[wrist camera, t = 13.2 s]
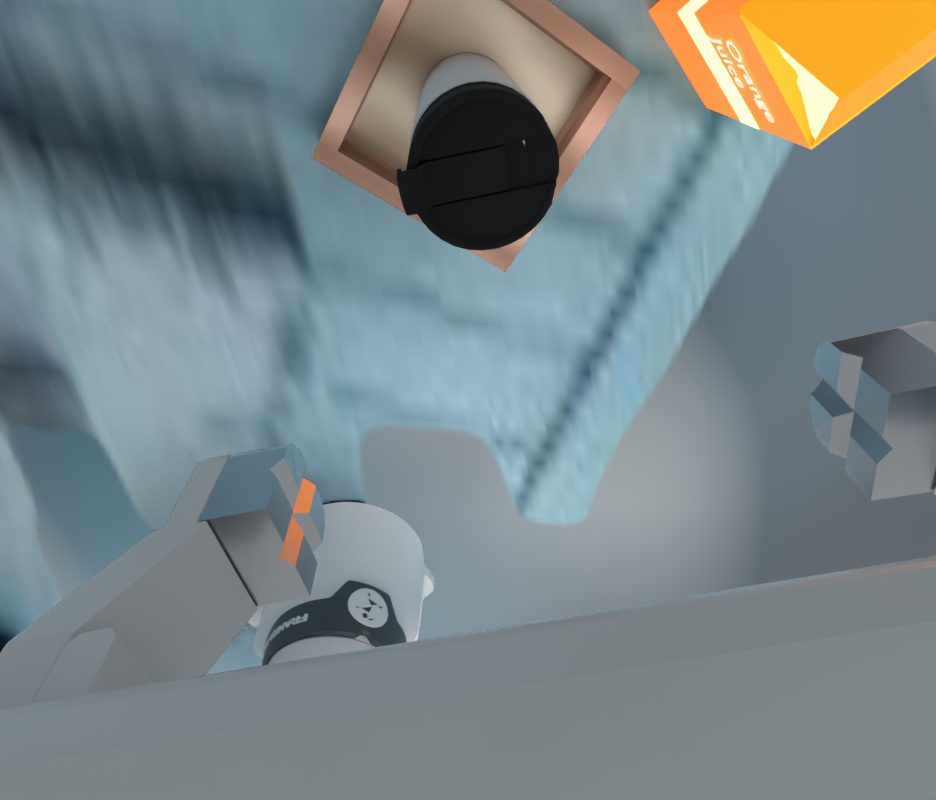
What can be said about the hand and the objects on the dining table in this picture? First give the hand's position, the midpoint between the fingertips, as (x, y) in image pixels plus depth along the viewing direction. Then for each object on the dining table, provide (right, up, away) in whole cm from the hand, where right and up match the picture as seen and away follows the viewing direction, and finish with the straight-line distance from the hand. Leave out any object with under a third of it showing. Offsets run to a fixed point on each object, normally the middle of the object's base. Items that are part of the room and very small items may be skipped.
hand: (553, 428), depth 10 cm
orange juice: (+16, +26, +30) cm, 43 cm away
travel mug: (-2, +20, +31) cm, 37 cm away
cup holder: (-1, +21, +33) cm, 39 cm away
